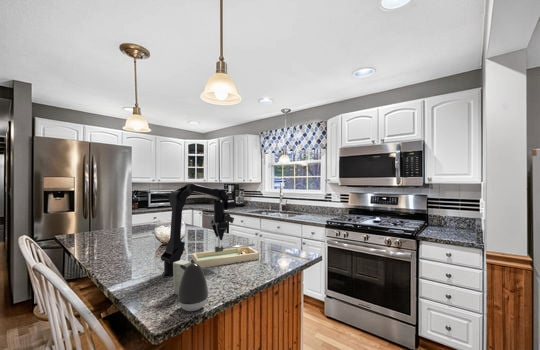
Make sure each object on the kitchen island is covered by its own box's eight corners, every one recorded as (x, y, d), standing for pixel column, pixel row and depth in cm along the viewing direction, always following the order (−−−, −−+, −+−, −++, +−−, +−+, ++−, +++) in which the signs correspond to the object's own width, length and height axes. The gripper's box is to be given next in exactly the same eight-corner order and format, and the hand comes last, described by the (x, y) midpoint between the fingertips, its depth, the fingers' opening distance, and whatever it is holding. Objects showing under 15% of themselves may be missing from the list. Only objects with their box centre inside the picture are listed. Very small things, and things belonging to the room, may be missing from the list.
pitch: (259, 259, 142) (259, 252, 142) (197, 268, 128) (197, 261, 128) (249, 252, 157) (248, 246, 157) (192, 259, 142) (192, 253, 143)
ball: (243, 257, 146) (249, 255, 147) (242, 252, 146) (248, 250, 147) (241, 256, 149) (247, 254, 151) (240, 250, 149) (245, 248, 150)
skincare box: (192, 292, 99) (192, 261, 100) (183, 297, 96) (183, 264, 96) (182, 289, 103) (181, 259, 103) (172, 293, 99) (172, 262, 99)
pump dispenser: (189, 299, 94) (189, 258, 94) (213, 302, 91) (213, 260, 91) (170, 312, 84) (170, 266, 84) (197, 317, 81) (197, 269, 81)
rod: (255, 253, 149) (255, 242, 150) (215, 258, 139) (215, 247, 140) (253, 251, 152) (253, 241, 152) (214, 257, 142) (214, 246, 142)
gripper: (237, 211, 138) (237, 240, 137) (228, 208, 154) (228, 234, 154) (217, 213, 133) (217, 242, 132) (210, 209, 150) (210, 236, 149)
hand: (219, 238), depth 142 cm, fingers open, 9 cm apart
